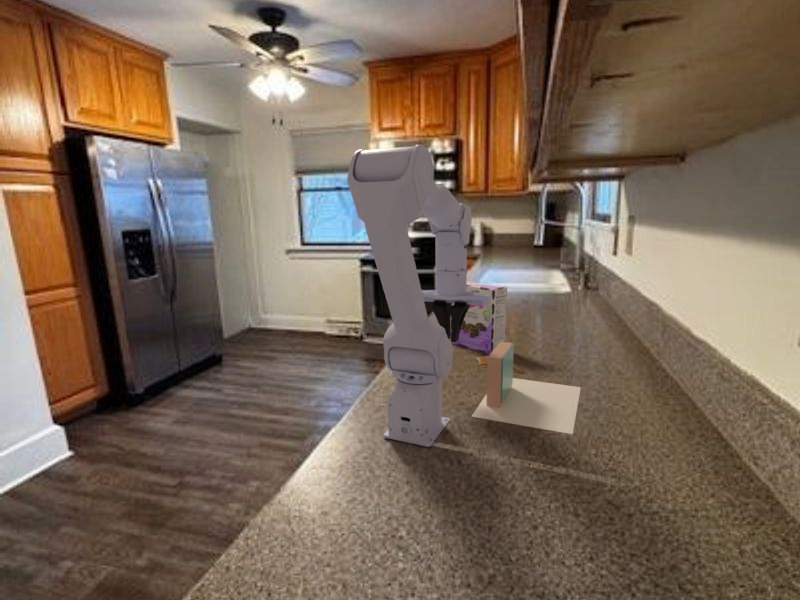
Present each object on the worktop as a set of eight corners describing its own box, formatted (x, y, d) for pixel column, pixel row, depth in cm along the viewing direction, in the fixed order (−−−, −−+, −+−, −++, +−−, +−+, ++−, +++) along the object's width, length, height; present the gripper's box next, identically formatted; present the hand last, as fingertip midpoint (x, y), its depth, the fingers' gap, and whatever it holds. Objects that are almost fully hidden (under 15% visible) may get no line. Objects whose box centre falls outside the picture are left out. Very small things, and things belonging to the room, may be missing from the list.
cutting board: (572, 437, 69) (572, 434, 69) (471, 419, 76) (471, 416, 76) (580, 390, 87) (580, 387, 87) (498, 378, 94) (498, 376, 93)
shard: (523, 378, 95) (524, 369, 95) (489, 381, 94) (489, 373, 93) (503, 361, 105) (503, 354, 105) (472, 364, 104) (472, 356, 104)
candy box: (449, 343, 119) (449, 282, 115) (464, 339, 122) (464, 279, 119) (491, 355, 108) (493, 288, 105) (506, 350, 112) (508, 285, 109)
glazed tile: (501, 408, 78) (502, 359, 77) (486, 405, 80) (487, 357, 78) (512, 387, 87) (514, 343, 86) (499, 385, 88) (500, 341, 87)
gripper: (495, 268, 83) (493, 338, 86) (422, 265, 89) (423, 331, 92) (485, 273, 77) (484, 348, 80) (408, 270, 83) (409, 340, 86)
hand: (451, 340), depth 86 cm, fingers closed
